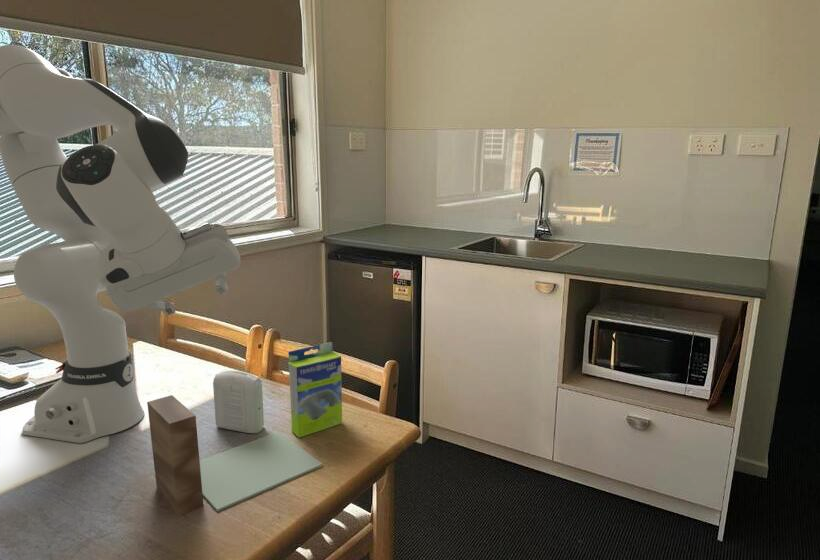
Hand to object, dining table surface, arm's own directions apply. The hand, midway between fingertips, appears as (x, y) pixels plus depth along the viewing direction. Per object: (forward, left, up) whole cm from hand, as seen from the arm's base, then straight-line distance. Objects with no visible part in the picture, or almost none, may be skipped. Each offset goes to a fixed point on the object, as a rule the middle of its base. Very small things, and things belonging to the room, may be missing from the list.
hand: (197, 301), depth 95 cm
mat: (+7, 0, -31) cm, 32 cm away
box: (+16, +16, -32) cm, 39 cm away
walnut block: (-2, -9, -31) cm, 33 cm away
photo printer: (0, +15, -32) cm, 35 cm away
